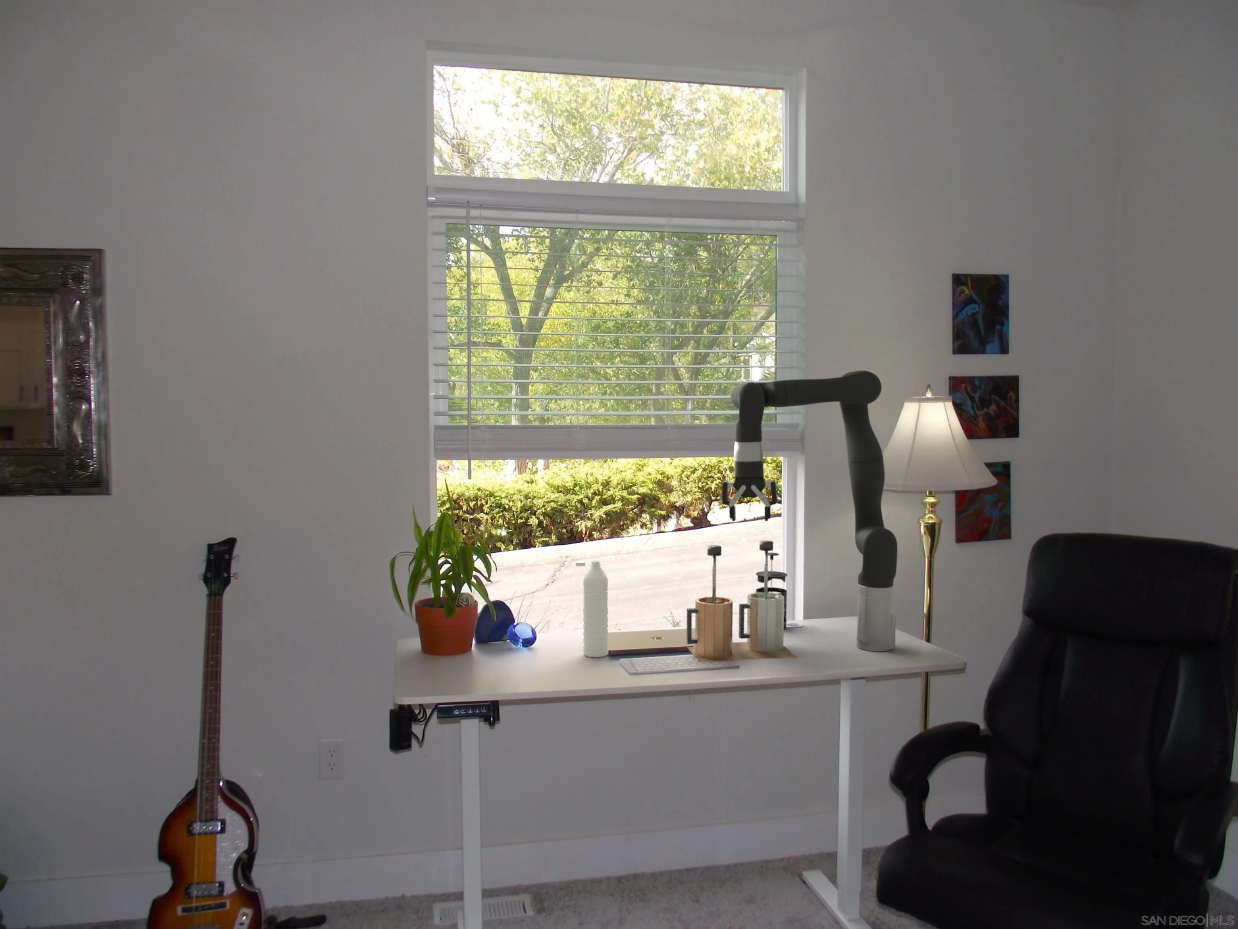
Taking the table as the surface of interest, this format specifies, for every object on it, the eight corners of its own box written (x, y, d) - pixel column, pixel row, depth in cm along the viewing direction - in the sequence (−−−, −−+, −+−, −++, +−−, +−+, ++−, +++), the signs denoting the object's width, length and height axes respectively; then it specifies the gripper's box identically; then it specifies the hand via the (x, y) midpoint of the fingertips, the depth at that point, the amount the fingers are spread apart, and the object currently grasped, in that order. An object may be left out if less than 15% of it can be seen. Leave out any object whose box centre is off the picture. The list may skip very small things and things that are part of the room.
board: (776, 644, 240) (776, 640, 239) (797, 661, 224) (797, 657, 224) (684, 649, 235) (684, 644, 235) (699, 666, 220) (699, 661, 220)
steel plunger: (773, 598, 235) (774, 539, 234) (781, 604, 229) (782, 543, 228) (749, 599, 234) (750, 540, 233) (757, 605, 228) (758, 543, 227)
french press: (793, 634, 250) (794, 555, 249) (761, 636, 249) (762, 556, 247) (778, 624, 262) (779, 549, 260) (748, 626, 260) (749, 549, 259)
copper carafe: (725, 647, 232) (726, 596, 231) (736, 657, 223) (736, 603, 222) (682, 649, 230) (683, 597, 229) (691, 659, 221) (691, 605, 220)
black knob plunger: (722, 604, 230) (723, 544, 229) (729, 610, 223) (730, 548, 222) (698, 605, 229) (698, 544, 228) (704, 611, 222) (705, 548, 221)
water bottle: (602, 649, 235) (602, 558, 233) (611, 656, 229) (611, 561, 227) (571, 653, 231) (571, 560, 230) (580, 659, 225) (580, 564, 224)
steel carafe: (776, 642, 237) (776, 591, 237) (787, 651, 228) (788, 599, 227) (734, 644, 236) (734, 593, 235) (744, 653, 226) (745, 600, 226)
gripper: (777, 457, 229) (778, 519, 230) (723, 458, 233) (724, 518, 234) (775, 459, 222) (776, 522, 223) (719, 460, 226) (721, 522, 227)
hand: (750, 520), depth 229 cm, fingers open, 8 cm apart
